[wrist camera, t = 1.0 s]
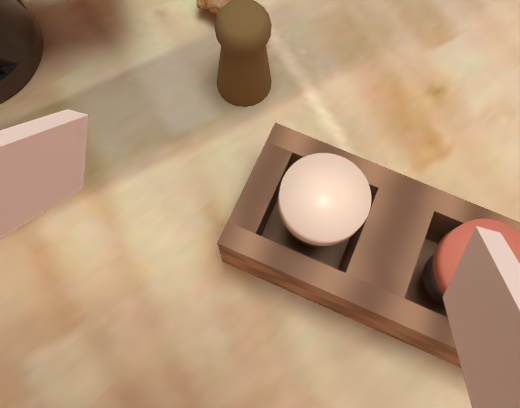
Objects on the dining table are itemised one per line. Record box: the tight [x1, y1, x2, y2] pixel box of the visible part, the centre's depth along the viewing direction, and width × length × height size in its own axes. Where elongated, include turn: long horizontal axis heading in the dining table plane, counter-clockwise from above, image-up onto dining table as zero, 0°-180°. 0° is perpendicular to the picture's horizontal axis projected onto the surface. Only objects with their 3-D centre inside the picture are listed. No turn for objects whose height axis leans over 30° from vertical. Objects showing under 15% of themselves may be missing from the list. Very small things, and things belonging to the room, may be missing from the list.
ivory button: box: [278, 153, 371, 247], centre depth 39 cm, size 7×7×7 cm
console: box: [218, 123, 520, 367], centre depth 43 cm, size 26×12×8 cm, turn 66°
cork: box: [215, 0, 271, 107], centre depth 47 cm, size 6×6×11 cm
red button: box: [423, 219, 520, 306], centre depth 38 cm, size 7×7×7 cm
